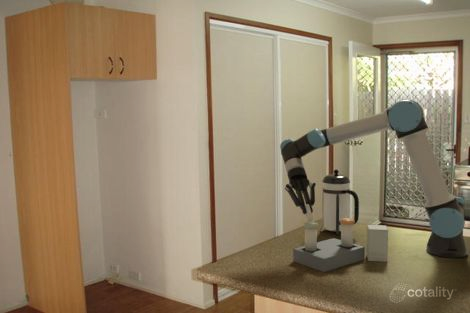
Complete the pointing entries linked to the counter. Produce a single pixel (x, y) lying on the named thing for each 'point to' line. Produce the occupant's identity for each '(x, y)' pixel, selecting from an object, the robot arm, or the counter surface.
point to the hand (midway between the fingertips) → (310, 220)
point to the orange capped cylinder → (347, 232)
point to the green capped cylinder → (310, 236)
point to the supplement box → (377, 243)
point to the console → (329, 255)
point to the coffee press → (337, 201)
